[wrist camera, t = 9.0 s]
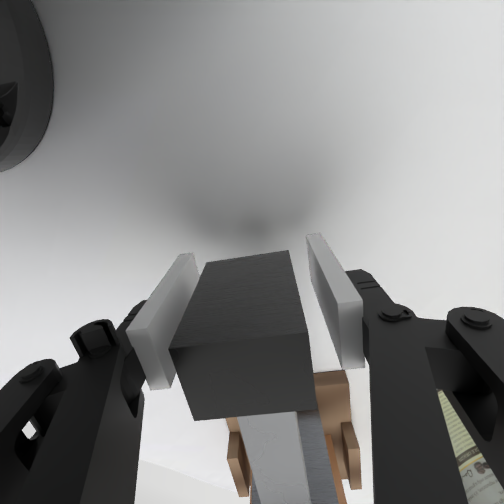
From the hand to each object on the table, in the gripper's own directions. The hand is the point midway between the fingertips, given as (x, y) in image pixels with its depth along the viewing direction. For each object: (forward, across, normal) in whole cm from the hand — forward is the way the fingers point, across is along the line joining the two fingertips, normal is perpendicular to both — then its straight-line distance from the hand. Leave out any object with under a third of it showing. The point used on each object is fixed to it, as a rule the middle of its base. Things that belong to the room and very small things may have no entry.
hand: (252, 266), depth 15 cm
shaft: (-2, 0, -8) cm, 9 cm away
